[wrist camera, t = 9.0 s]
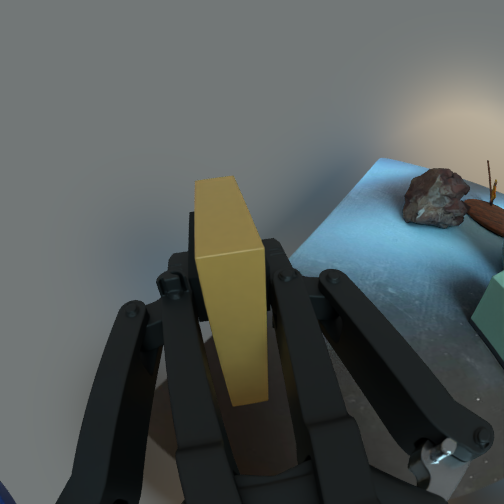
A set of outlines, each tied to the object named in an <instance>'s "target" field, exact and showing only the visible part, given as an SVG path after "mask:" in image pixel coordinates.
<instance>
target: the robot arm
mask: <svg viewBox="0 0 504 504" xmlns="http://www.w3.org/2000/svg"><path fill="white" fill-rule="evenodd" d="M261 241H262V243H263V245H264V248H265V273H266V308H267V311H270V304H271V307H272V313H273V328H275V333H276V338H277V344H278V349H279V354H280V359H281V365H282V370H283V375H284V380H285V386H286V391H287V397H288V402H289V407H290V413H291V418H292V424H293V429H294V434H295V440H296V449H297V461H298V465H297V466H295V467H293V468H291V469H289V470H287V471H285V472H282V473H280V474H278V475H275V476H255V475H240V473H239V470H238V467H237V464H236V462H235V459H234V457H233V453H232V450H231V447H230V444H229V440H228V437H227V434H226V430H225V427H224V423H223V420H222V416H221V412H220V409H219V405H218V401H217V397H216V393H215V389H214V385H213V381H212V377H211V373H210V369H209V365H208V361H207V356H206V352H205V347H204V343H203V338H202V333H201V329H200V325H199V321H200V322H203V321H209V319H208V315H207V311H206V306H205V302H204V298H203V294H202V289H201V285H200V280H199V276H198V271H197V267H196V262H195V238H194V212H190V215H189V247H188V251H187V252H181V253H174V254H173V255H172V256H171V257H170V259H169V262H168V271H166V272H164V273H162V274H161V275H160V276H159V277H158V278H157V281H156V283H157V286H158V289H159V292H160V295H161V298H160V299H159V300H157V301H155V302H153V303H151V304H148V305H145V304H144V303H143V302H142V301H138V300H134V301H129V302H127V303H126V304H124V305H123V306H122V307H121V309H120V310H119V312H118V315H117V317H116V320H115V322H114V325H113V327H112V330H111V333H110V335H109V338H108V341H107V344H106V346H105V349H104V352H103V355H102V358H101V361H100V364H99V367H98V370H97V373H96V376H95V379H94V382H93V386H92V389H91V392H90V396H89V399H88V403H87V407H86V410H85V414H84V418H83V422H82V426H81V430H80V434H79V439H78V444H77V448H76V453H75V458H74V464H73V469H72V475H71V477H70V479H69V480H68V482H67V484H66V486H65V488H64V489H63V491H62V493H61V495H60V496H59V498H58V500H57V502H56V504H139V500H140V497H141V490H142V481H143V470H144V461H145V451H146V444H147V437H148V429H149V422H150V416H151V409H152V403H153V397H154V391H155V384H156V380H157V374H158V369H159V364H160V359H161V354H162V348H163V345H164V351H165V361H166V371H167V379H168V387H169V395H170V402H171V409H172V415H173V422H174V428H175V433H176V439H177V445H178V449H177V451H176V464H177V468H178V473H179V477H180V481H181V486H182V490H183V494H184V498H185V500H184V501H183V502H182V504H448V502H447V501H448V499H449V498H450V496H451V495H452V493H453V492H454V490H455V489H456V487H457V485H458V484H459V482H460V480H461V479H462V477H463V475H464V473H465V472H466V470H467V468H468V466H469V464H470V463H471V461H472V460H473V459H475V458H477V457H479V456H481V455H482V454H484V453H486V452H487V451H488V450H489V449H490V448H491V446H492V444H493V441H494V431H493V428H492V426H491V425H490V424H489V423H488V422H487V421H485V420H484V419H482V418H481V417H479V416H478V415H476V414H475V413H473V412H471V411H470V410H468V409H467V408H465V407H464V406H462V405H461V404H459V403H458V402H456V401H455V400H454V399H453V398H452V397H451V395H450V394H449V393H448V391H447V390H446V389H445V388H444V386H443V385H442V384H441V383H440V381H439V380H438V379H437V378H436V376H435V375H434V374H433V373H432V371H431V370H430V369H429V368H428V367H427V365H426V364H425V363H424V362H423V360H422V359H421V358H420V357H419V356H418V354H417V353H416V352H415V351H414V350H413V349H412V347H411V346H410V345H409V344H408V343H407V342H406V340H405V339H404V338H403V337H402V336H401V335H400V333H399V332H398V331H397V330H396V329H395V328H394V327H393V325H392V324H391V323H390V322H389V321H388V320H387V319H386V318H385V316H384V315H383V314H382V313H381V312H380V311H379V310H378V309H377V308H376V307H375V305H374V304H373V303H372V302H371V301H370V300H369V299H368V298H367V297H366V296H365V295H364V293H363V292H362V291H361V290H360V289H359V288H358V287H357V286H356V285H355V284H354V283H353V282H352V281H351V280H350V279H349V278H348V276H347V275H346V274H344V273H343V272H342V271H339V270H337V269H327V270H324V271H322V272H321V273H320V275H319V278H318V277H305V276H302V275H301V273H300V272H299V271H298V270H296V269H294V268H293V267H292V265H291V263H290V261H289V260H288V258H287V256H286V254H285V252H284V250H283V248H282V246H281V244H280V243H279V242H278V241H277V240H275V239H274V238H271V239H264V240H261ZM198 317H199V319H198ZM321 331H322V332H321ZM322 333H323V334H324V336H325V337H326V339H327V340H328V342H329V343H330V345H331V346H332V348H333V349H334V350H335V352H336V353H337V355H338V356H339V358H340V359H341V361H342V362H343V364H344V365H345V367H346V368H347V370H348V371H349V373H350V374H351V376H352V377H353V379H354V380H355V382H356V383H357V384H358V386H359V387H360V389H361V390H362V392H363V393H364V395H365V396H366V398H367V399H368V401H369V402H370V404H371V405H372V407H373V408H374V410H375V411H376V413H377V414H378V416H379V417H380V419H381V420H382V422H383V423H384V425H385V427H386V428H387V430H388V431H389V433H390V434H391V436H392V437H393V438H394V440H395V441H396V442H397V444H398V445H399V446H400V447H401V448H402V449H403V450H404V451H405V452H406V453H407V454H408V455H410V458H409V463H408V469H409V471H411V472H412V473H413V474H414V475H415V477H416V480H417V486H414V485H412V484H409V483H407V482H405V481H403V480H400V479H398V478H396V477H394V476H392V475H389V474H387V473H385V472H383V471H381V470H379V469H377V468H375V467H373V466H371V465H369V463H368V459H367V456H366V452H365V448H364V445H363V441H362V438H361V435H360V431H359V428H358V425H357V423H356V420H355V419H354V418H353V417H352V416H350V415H349V414H348V413H347V410H346V407H345V404H344V400H343V397H342V394H341V391H340V387H339V384H338V381H337V378H336V375H335V371H334V368H333V365H332V362H331V359H330V356H329V353H328V350H327V347H326V344H325V341H324V338H323V335H322Z"/></svg>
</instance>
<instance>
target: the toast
mask: <svg viewBox="0 0 504 504" xmlns="http://www.w3.org/2000/svg"><path fill="white" fill-rule="evenodd" d="M194 238H195V262H196V267H197V271H198V276H199V280H200V285H201V289H202V294H203V298H204V302H205V306H206V311H207V315H208V319H209V323H210V327H211V331H212V335H213V339H214V342H215V346H216V350H217V354H218V357H219V361H220V365H221V368H222V372H223V375H224V379H225V382H226V386H227V389H228V393H229V396H230V399H231V403H232V406H240V405H246V404H252V403H257V402H262V401H267V400H268V349H267V308H266V273H265V248H264V245H263V243H262V241H261V238H260V236H259V234H258V231H257V229H256V227H255V224H254V222H253V220H252V217H251V215H250V213H249V210H248V208H247V206H246V203H245V201H244V199H243V196H242V194H241V192H240V189H239V187H238V185H237V182H236V180H235V178H234V176H227V177H219V178H211V179H204V180H198V181H195V209H194Z"/></svg>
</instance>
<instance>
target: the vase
mask: <svg viewBox="0 0 504 504" xmlns="http://www.w3.org/2000/svg"><path fill="white" fill-rule="evenodd" d="M502 267H503V270H504V240H503V247H502Z"/></svg>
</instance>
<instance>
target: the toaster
mask: <svg viewBox="0 0 504 504" xmlns="http://www.w3.org/2000/svg"><path fill="white" fill-rule="evenodd" d="M469 323H470V324H471V325H472V326H473V328H474V329H475V330H476V331H477V333H478V334H479V335H480V337H481V338H482V339H483V340H484V342H485V343H486V344H487V346H488V347H489V348H490V350H491V351H492V353H493V354H494V355H495V357H496V358H497V360H498V361H499V362H500V364H501V365H502V367H503V368H504V270H503V271H502V272H500V273H498V274H496V275H494V276H492V278H491V280H490V283H489V285H488V287H487V289H486V291H485V293H484V295H483V297H482V299H481V300H480V302H479V304H478V306H477V308H476V310H475V311H474V313H473V315H472V317H471V318H470V320H469Z"/></svg>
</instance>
